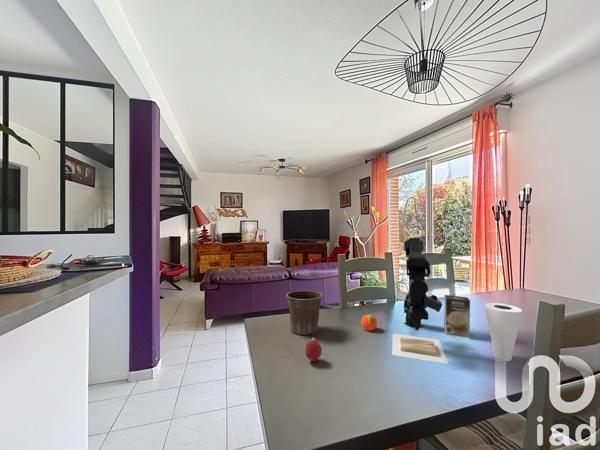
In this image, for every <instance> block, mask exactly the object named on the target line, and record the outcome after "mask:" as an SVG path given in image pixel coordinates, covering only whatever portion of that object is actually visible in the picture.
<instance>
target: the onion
mask: <svg viewBox="0 0 600 450" xmlns="http://www.w3.org/2000/svg"><path fill="white" fill-rule="evenodd" d="M322 350H323V349H322V346H321V344H320V343H319V342H318V341H316V338H315V337H313V338H312V339H311V340H309V341H308V342H307V343H306V345H305V347H304V354H305V357H306V358H307V359H308V360H309V361H311V362H316V361H317V360H318V359H319V358H321V356H322Z"/></svg>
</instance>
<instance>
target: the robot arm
mask: <svg viewBox="0 0 600 450" xmlns="http://www.w3.org/2000/svg"><path fill="white" fill-rule="evenodd" d="M424 245H425V244H424V241H422V240H421V238H420V237H408V239H406V240H404V241H403V252H405V253H404V254H405V256H406V258H407V259H406V262H405V263H406V269H405V270H406V276H408V292H406V293H407V294H406V295H405V299H403V313H404V314H405V322H403V324H404V325H405V326H408V327H410V328H413V329H414V330H415V331H419V330H420V328H422V327H424V324H422V320H425V321H426V320H427V321H428V320H429V313H428V310H427V308H430V309H431V310H434V311H435V312H437V313H440V311H441V309H442V306H443V302H442V301H440V300H439V299H438V296H437V295H435V294H431V296H430V295H427V293H428V292H429V286H428V283H427V282H426V278H430V275H431V273H432V271H431V265H430V261H429V260H427V257H426V255H425V254H423V252H424V247H425V246H424Z"/></svg>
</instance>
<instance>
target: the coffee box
mask: <svg viewBox="0 0 600 450" xmlns="http://www.w3.org/2000/svg"><path fill="white" fill-rule="evenodd" d="M443 314H444V316H443V317H444V318H443V319H444V321H443V322H444V324H443V331H444V334H445V335H448V336H449V335H450V336H455V337H462V338H467V339H470V334H471V333H470V332H471V330H470V329H471V326H470V325H471V324H470V323H471V322H470V321H471V319H470V317H471V300H470V298H468V297H467V296H466V297H465V296H460V295H459V296H457V295H451V294H449V295H448V294H444V313H443Z"/></svg>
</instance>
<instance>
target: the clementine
mask: <svg viewBox="0 0 600 450" xmlns="http://www.w3.org/2000/svg"><path fill="white" fill-rule="evenodd" d="M360 322H361V326H362V328H363V329H364V330H365V331H368V332H372V331H374V330H375V329H376V328H377V325H378V321H377V318H376V317H374V315H372V314H365V315H363V316H362V318H361V320H360Z"/></svg>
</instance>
